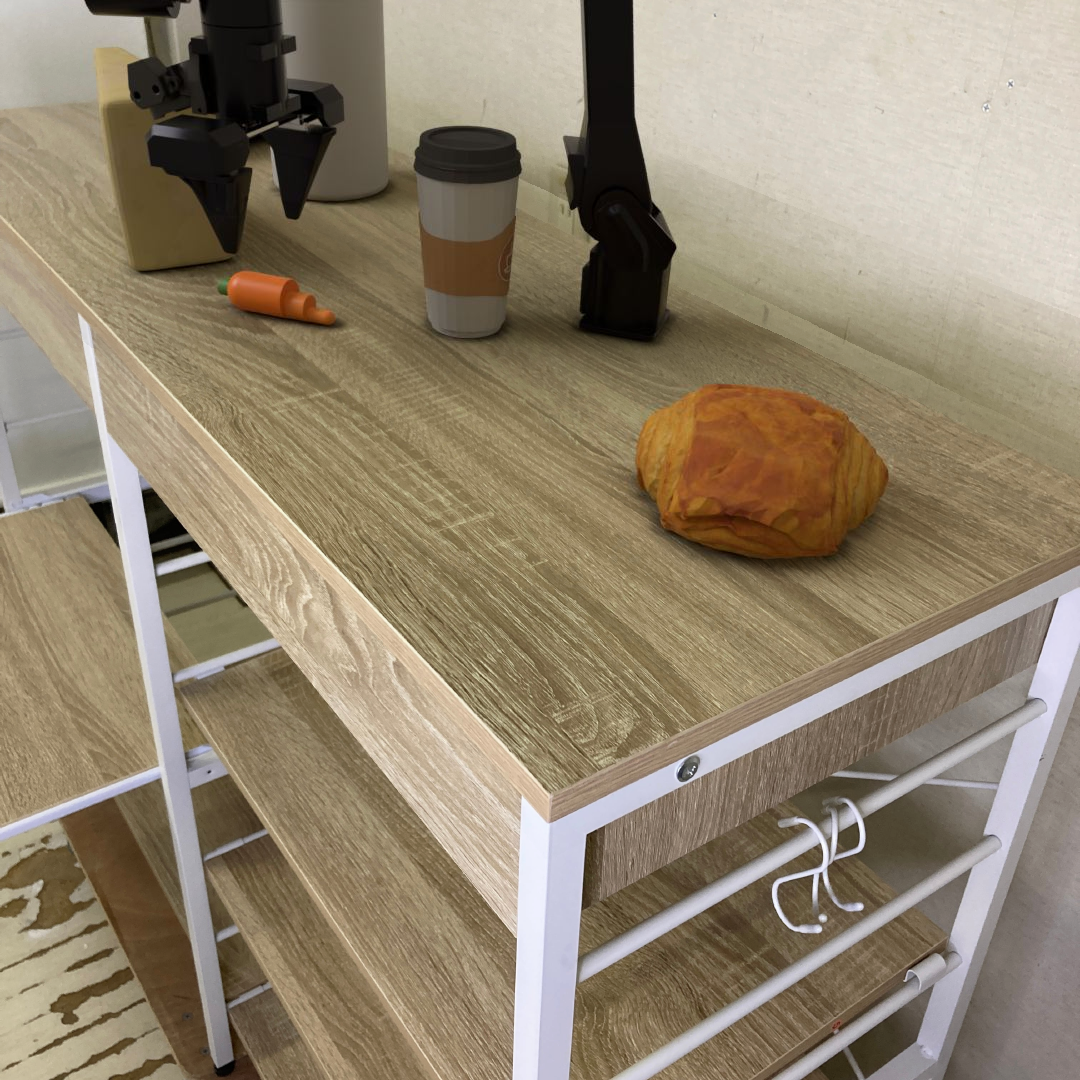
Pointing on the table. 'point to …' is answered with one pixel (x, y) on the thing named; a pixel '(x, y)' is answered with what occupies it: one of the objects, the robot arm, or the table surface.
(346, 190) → the cylinder vase
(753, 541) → the croissant
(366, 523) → the table surface
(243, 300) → the carrot
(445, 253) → the coffee cup
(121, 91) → the cheese
